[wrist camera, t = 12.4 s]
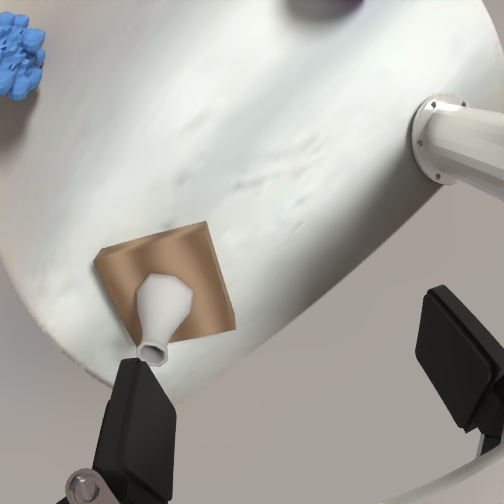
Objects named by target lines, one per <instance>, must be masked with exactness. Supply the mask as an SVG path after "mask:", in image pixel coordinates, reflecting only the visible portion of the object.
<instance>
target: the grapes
mask: <svg viewBox="0 0 504 504" xmlns="http://www.w3.org/2000/svg"><path fill="white" fill-rule="evenodd" d="M28 23H29V17H27V16H25V15H16V16H15V15H14V14H13V13H10V12H3V13H0V96H4V95H6V94H7V95H8V97H9V98H10V99H11V100H13V101H21V100H23V99H25V98H26V96H27V95H28V93H29V90H33V89H35V88H36V87H37V86H38V85H39V83H40V81H41V77H42V70H41V69H40V66H41V65H42V64H43V61H44V58H45V51H43V50H42V49H40V48H41V46H42V44H43V42H44V37H45V32H43V31H41V30H39V29H32V28H29V29H28V28H27V26H28Z"/></svg>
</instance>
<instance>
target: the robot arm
mask: <svg viewBox="0 0 504 504" xmlns="http://www.w3.org/2000/svg"><path fill="white" fill-rule="evenodd" d="M411 136H412V148H413V153H414V156H415V159H416V162H417V164H418V165H419V167H420V169H421V170H422V171H423V173H424V174H425V175H426V176H427V177H429V178H430V179H431V180H433V181H435V182H437V183H440V184H443V185H452V184H456V183H459V182H460V181H462V182H465V183H467V184H469V185H471V186H473V187H475V188H477V189H479V190H481V191H483V192H485V193H487V194H489V195H491V196H493V197H495V198H497V199H499V200H501V201H503V202H504V114H503V113H498V112H493V111H488V110H482V109H476V108H472V107H471V105H470V104H469V103H468V102H467V101H466V100H464V99H463V98H462V97H460V96H458V95H455V94H451V93H439V94H435V95H433V96H431V97H429V98H428V99H427V100H426V101H425V102H424V103H423V104H422V105H421V107H420V108H419V109H418V111H417V114H416V116H415V118H414V122H413V126H412V135H411ZM415 354H416V358H417V360H418V362H419V363H420V365H421V366H422V368H423V369H424V371H425V373H426V374H427V376H428V377H429V379H430V381H431V382H432V384H433V386H434V387H435V389H436V390H437V392H438V394H439V395H440V397H441V399H442V400H443V402H444V404H445V405H446V407H447V409H448V410H449V412H450V414H451V415H452V417H453V419H454V421H455V422H456V424H457V426H458V427H459V428H463V429H464V431H465V433H468V432H470V431H471V430H473V429H475V428H477V427H478V428H479V430H480V432H481V436H480V441H479V445H478V450H477V454H476V458H475V460H473V461H471V462H470V463H468V464H466V465H464V466H462V467H460V468H458V469H456V470H455V471H453V472H451V473H449V474H447V475H445V476H443V477H441V478H439V479H437V480H435V481H432V482H430V483H428V484H426V485H424V486H421V487H419V488H417V489H415V490H412V491H410V492H407V493H405V494H403V495H400V496H397V497H395V498H392V499H390V500H387V501H384V502H381V503H378V504H504V348H503V347H502V346H501V345H500V344H499V343H498V342H497V340H496V339H495V338H494V337H493V336H492V335H491V334H490V332H489V331H488V330H487V329H486V328H485V327H484V326H483V325H482V324H481V323H480V321H479V320H478V319H477V318H476V317H475V316H474V315H473V314H472V313H471V312H470V311H469V310H468V309H467V307H465V305H463V303H462V302H461V301H460V300H459V299H458V298H457V297H456V296H455V295H454V294H453V293H452V292H451V291H450V290H449V289H448V288H447V287H446V286H445V285H440V286H438V287H434V288H432V289H429V290H428V291H427V295H425V296H424V298H423V306H422V313H421V320H420V326H419V332H418V338H417V344H416V349H415ZM175 432H176V411H175V408H174V406H173V405H172V403H171V402H170V400H169V399H168V397H167V395H166V394H165V392H164V391H163V389H162V387H161V386H160V384H159V382H158V381H157V379H156V377H155V376H154V374H153V372H152V371H151V369H150V367H149V366H148V364H147V362H146V361H142V360H141V359H140V358H130V359H123V360H122V361H121V363H120V366H119V369H118V373H117V376H116V380H115V384H114V387H113V391H112V395H111V399H110V400H109V401H108V403H107V406H106V410H105V414H104V418H103V422H102V426H101V430H100V435H99V439H98V443H97V448H96V452H95V457H94V461H93V466H92V469H88V468H84V469H80V470H78V471H75V472H74V473H73V474H72V475H71V476H70V477H69V479H68V480H67V483H66V486H65V493H66V497H65V498H63V499H62V500H60V501H59V502H58V503H56V504H168V501H170V500H171V499H172V492H173V467H174V448H175Z"/></svg>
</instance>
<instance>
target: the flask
mask: <svg viewBox="0 0 504 504" xmlns="http://www.w3.org/2000/svg"><path fill="white" fill-rule="evenodd" d="M192 301H193V290H192V289H191V288H189V287H188V286H187V285H186V284H184V283H183V282H182V281H180V280H179V279H178V278H177V277H175V276H171V275H162V274H153V273H150V274H149V275H148V276H147V277H146V279H145V280H144V281H143V282H142V283H141V284H140V285H139V286H138V287H137V310H138V314H139V318H140V321H141V326H142V331H143V337H142V341H141V344H140V345H139V346H138V347H137V349H136V351H137V358H140V359H141V360H142V361H146V362H147V364H148V365H149V366H157V367H160V366H161V365H163V364H164V363H165V362H166V361H167V360H168V349H167V345H168V342H169V340H170V338H171V336H172V334H173V333H174V332H175V330H176V329H177V328H178V326H179V325H180V324H181V323H182V321H183V320H184V319H185V318H186V317H187V316H188V314H189V313H190V312H191V311H192Z"/></svg>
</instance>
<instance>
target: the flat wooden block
mask: <svg viewBox="0 0 504 504" xmlns="http://www.w3.org/2000/svg"><path fill="white" fill-rule="evenodd" d="M94 264H95V266H96V268H97V270H98V272H99V275H100V277H101V279H102V281H103V283H104V285H105V287H106V289H107V291H108V293H109V296H110V298H111V300H112V302H113V304H114V305H115V307H116V309H117V311H118V313H119V315H120V317H121V319H122V321H123V323H124V325H125V327H126V328H127V330H128V332H129V334H130V336H131V337H132V339H133V341H134V343H135V345H136V346H137V347H138V346H139V345H140V344H141V341H142V337H143V331H142V326H141V321H140V318H139V314H138V310H137V287H138V286H139V285H140V284H141V283H142V282H143V281H144V280H145V279H146V277H147V276H148V275H149V274H150V273H153V274H162V275H171V276H175V277H177V278H178V279H179V280H180V281H182V282H183V283H184V284H186V285H187V286H188V287H189V288H191V289H192V290H193V301H192V311H191V312H190V313H189V314H188V316H187V317H186V318H185V319H184V320H183V321H182V323H181V324H180V325H179V326H178V328H177V329H176V330H175V332H174V333H173V334H172V336H171V338H170V340H169V342H168V343H172V342H177V341H182V340H187V339H192V338H198V337H202V336H207V335H212V334H217V333H222V332H226V331H231V330H236V325H235V314H234V311H233V308H232V305H231V302H230V298H229V295H228V292H227V289H226V285H225V282H224V279H223V276H222V272H221V269H220V266H219V263H218V259H217V256H216V253H215V249H214V246H213V243H212V239H211V236H210V232H209V229H208V226H207V222H206V221H203V222H199V223H196V224H192V225H188V226H184V227H180V228H176V229H172V230H168V231H165V232H161V233H157V234H153V235H150V236H146V237H142V238H139V239H135V240H131V241H128V242H124V243H121V244H117V245H113V246H110V247H106V248H103V249H101V251H100V252H99V253H98V255H97V256H96V258H95V259H94Z"/></svg>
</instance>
